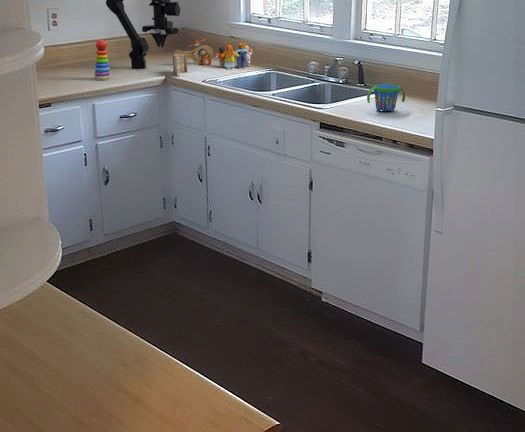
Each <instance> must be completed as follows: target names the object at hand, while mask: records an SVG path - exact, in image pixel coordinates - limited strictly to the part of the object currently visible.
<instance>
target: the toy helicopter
mask: <svg viewBox="0 0 525 432" xmlns="http://www.w3.org/2000/svg"><path fill="white" fill-rule="evenodd" d="M204 41H206V38H204V39H201V40H197V39H196V40H195V41H193V43H192V44H190V45H188V46H187V48H190V47H192V46H194V48H193V50H188V51H182V50H180V49H175V50H174V51H173V53H177V54H183V53H187V59H188V58H189V59H192V61H193V65H203V66H211V65H212V59H213V56H214V50H213V48H212V47H211V46H209V45H207V44H202V42H204Z"/></svg>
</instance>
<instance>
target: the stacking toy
mask: <svg viewBox="0 0 525 432" xmlns="http://www.w3.org/2000/svg"><path fill="white" fill-rule="evenodd" d="M107 46H108V44H107V42H106V41H105V40H103V39H98V40H97V41H96V42H95V47H96V49H97V50H96V52H95V53H96V54H95V64H94V66H95V67H94V72H93V73H94V77H93V79H95V80H96V81H108V80H110V79H111V78H112V76H111V71H110V66H109V65H110V63H109V59H108V51H107V50H106V49H107Z"/></svg>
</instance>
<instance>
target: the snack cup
mask: <svg viewBox="0 0 525 432" xmlns="http://www.w3.org/2000/svg"><path fill="white" fill-rule="evenodd" d="M400 90H401V91H402V96H401V97H402V98H401V102H402V103H405V100H406V92H405V90H404V89H403V88H402V87H400V85H397V84H393V83H377V84H374V85H373V87H371V88H370V89H369V90H368V92H367V96H366V101H367V103H368V104H370V103H371V102H370V101H371V100H370V98H371V92H372V91H374V100H375V101H374V102H375V109H377V110H382V111H392V110H394V109H395V110H396V106H397V102H398V96H399V93H400ZM377 110H376V111H377ZM395 110H394V111H395Z"/></svg>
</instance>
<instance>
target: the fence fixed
mask: <svg viewBox="0 0 525 432" xmlns="http://www.w3.org/2000/svg"><path fill="white" fill-rule="evenodd" d="M177 55H178V56H179V57H180V73H188V58H187V53H183V54H177Z"/></svg>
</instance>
